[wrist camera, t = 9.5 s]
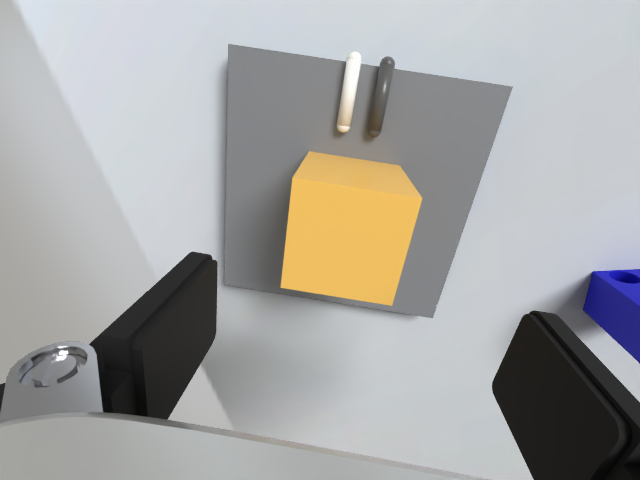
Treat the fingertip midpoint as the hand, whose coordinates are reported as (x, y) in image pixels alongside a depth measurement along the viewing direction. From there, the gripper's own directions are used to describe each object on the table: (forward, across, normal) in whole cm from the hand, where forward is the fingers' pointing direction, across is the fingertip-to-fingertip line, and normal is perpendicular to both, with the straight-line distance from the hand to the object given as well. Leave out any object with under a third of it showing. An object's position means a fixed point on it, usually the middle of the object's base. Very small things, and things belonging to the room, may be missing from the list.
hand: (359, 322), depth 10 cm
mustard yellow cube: (+10, +1, -1) cm, 10 cm away
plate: (+12, +1, -1) cm, 12 cm away
